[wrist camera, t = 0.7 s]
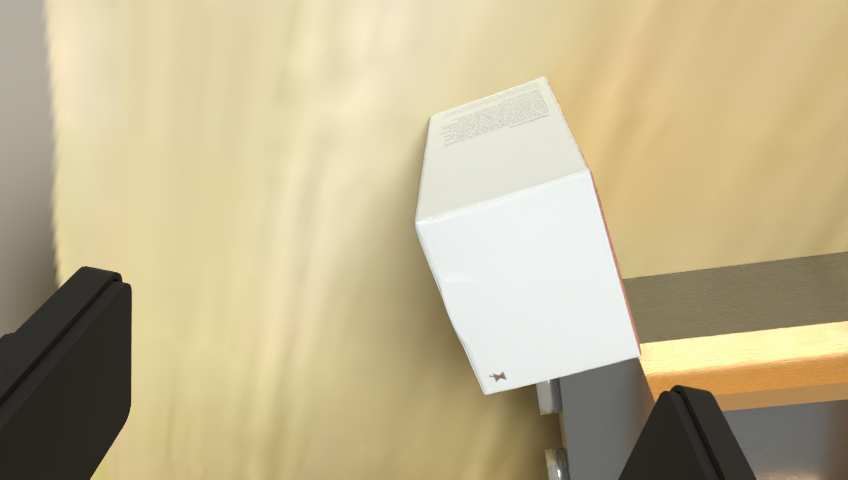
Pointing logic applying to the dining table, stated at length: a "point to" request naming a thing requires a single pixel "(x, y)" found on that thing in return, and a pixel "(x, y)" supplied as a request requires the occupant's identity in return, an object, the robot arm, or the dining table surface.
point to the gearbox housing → (722, 369)
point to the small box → (520, 241)
